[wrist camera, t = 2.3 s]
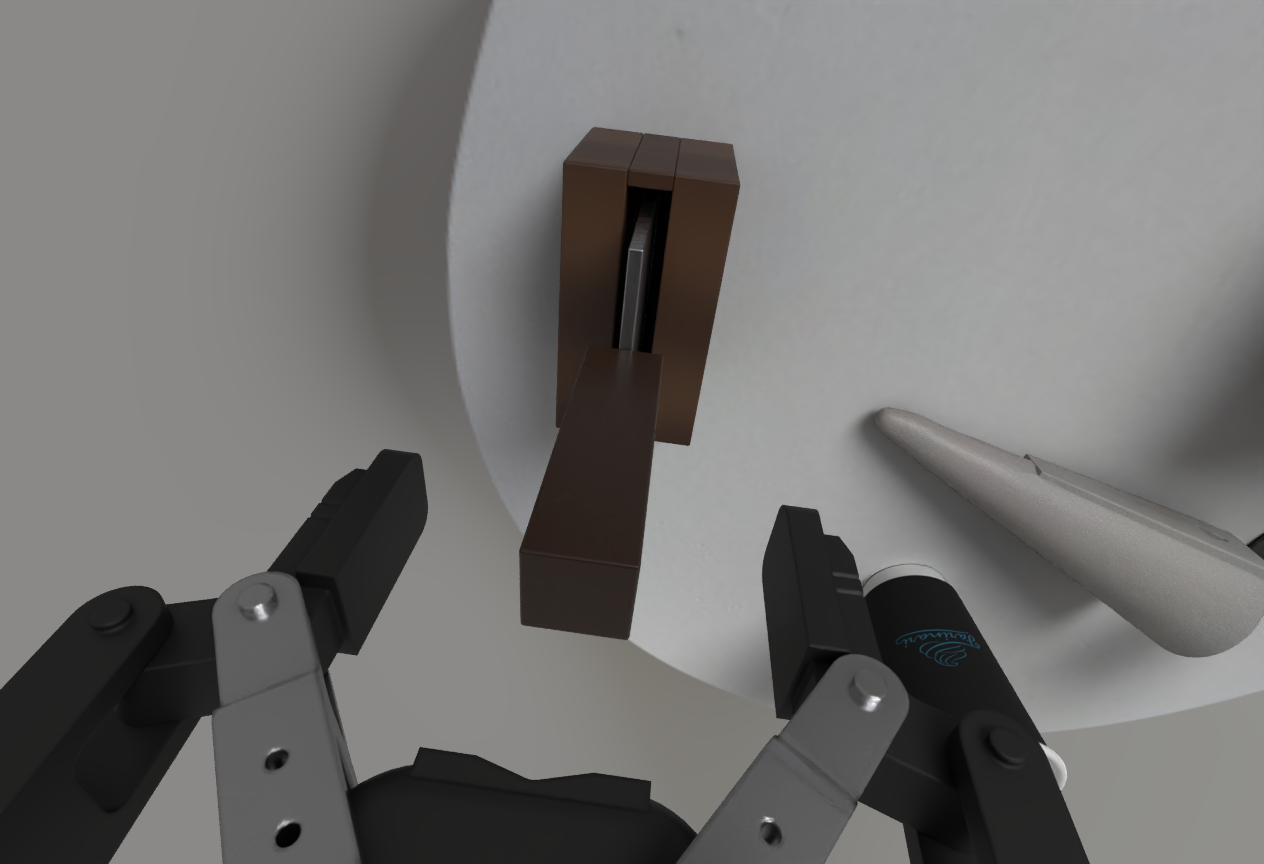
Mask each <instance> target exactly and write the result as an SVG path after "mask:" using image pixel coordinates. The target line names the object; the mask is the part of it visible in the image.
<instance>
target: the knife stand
mask: <svg viewBox="0 0 1264 864" xmlns="http://www.w3.org/2000/svg"><path fill="white" fill-rule="evenodd" d="M639 187H640V188H648V189H656V190H664V191H672V190H673V191H672V199H671V206H670V214H669V222H668V229H667V237H666V244H665V252H664V260H663V267H662V275H661V282H660V290H659V297H658V305H657V313H656V320H655V328H654V335H653V343H652V350H651V353H653V354H660V355H663V357H664V359H663V368H662V377H661V386H660V395H659V404H658V413H657V422H656V431H655V440H654V441H657V442H665V443H672V444H679V445H687V446H689V445H690V441H691V436H692V431H693V426H694V421H695V416H696V411H697V405H698V400H699V395H700V390H701V385H702V380H703V375H704V369H705V364H706V359H707V354H708V349H709V344H710V338H711V333H712V328H713V323H714V318H715V313H716V308H717V302H718V297H719V292H720V287H721V282H722V277H723V272H724V266H725V261H726V256H727V251H728V246H729V241H730V235H731V230H732V225H733V220H734V215H735V210H736V205H737V199H738V194H739V189H740V181H739V176H738V171H737V166H736V160H735V155H734V150H733V145H732V144H725V143H717V142H709V141H701V140H693V139H686V138H681V140H680V138H678V137H670V136H662V135H654V134H646V133H645V134H644V135H643V134H642V133H637V132H629V131H621V130H613V129H605V128H597V127H593V128H592V129H591V130H590V131H589V133H588V134H587V135H586V136H585V137H584V138H583V140H582V141H581V142H580V143H579V144H578V145H577V147H576V148H575V149H574V150H573V151H572V153H571V154H570V155H569V156H568V157H567V158H566V160H565V161H564V163H563V191H562V225H561V259H560V294H559V328H558V363H557V397H556V427H557V428H560V427H561V424H562V421H563V418H564V415H565V412H566V409H567V406H568V403H569V400H570V397H571V394H572V391H573V388H574V385H575V382H576V379H577V376H578V373H579V370H580V367H581V364H582V361H583V358H584V355H585V352H586V349H587V347H588V345H593V346H600V347H608V348H615V349H619V343H620V333H621V322H622V312H623V302H624V291H625V281H626V270H627V260H628V249H629V246H630V243H631V239H632V236H633V233H634V229H635V220H636V210H637V200H638V190H639Z"/></svg>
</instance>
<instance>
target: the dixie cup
mask: <svg viewBox="0 0 1264 864" xmlns="http://www.w3.org/2000/svg"><path fill="white" fill-rule="evenodd" d="M863 597H865V600H866V604H867V607H868V611H869V615H870V618H871V622H872V626H873V629H874V633H875V637H876V640H877V644H878V648H879V651H880V655H881V658H882V661H883V664H884V665H886V666H887V667H888V668H890V669H891V670H892V671H893V672H894V673H895V674H896V675H897V676H898V678H899V679H900V680H901V682H902V683H903V685H904V687H905V689H906V691H907V693H908V694H910V695H911V696H913V697H914V698H916V699H917V700H919V701H921V702H923V703H925V704H928V705H930V706H932V707H934V708H937V709H939V710H941V711H944V712H946V713H948V714H950V715H953V716H955V717H957V718H960V719H962V718H963V717H964V716H965V715H966V714H967V713H968V712H970V711H972V710H976V709H988V710H993V711H997V712H1000V713H1002V714H1005V715H1007V716H1008V717H1010V718H1012V719H1014V720H1015V721H1017V722H1018V723H1020V724H1021V725H1022V726H1023V727H1025V728H1026V729H1027V730H1028V731H1029V732H1030V733H1031V734H1032V735H1033V736H1034V737H1035V739H1036V740H1037V741H1038V742H1039V744H1040V745H1041V747H1042V748H1043V750H1044V752H1045V754H1046V756H1047V758H1048V760H1049V763H1050V765H1051V768H1052V770H1053V773H1054V775H1055V778H1056V780H1057V783H1058V786H1059V788H1060V791H1061V790H1062V789H1063V787H1064V785H1065V783H1066V780H1067V771H1066V767H1065V764H1064V762H1063V761H1062V759H1061V758H1060V757H1059V756H1058V755H1057V753H1055V752H1054V751H1053V750H1051V749H1050V748H1049V747H1047V745H1046V743H1045V742H1044V740H1043V738H1042V737H1041V735H1040V733H1039V731H1038V730H1037V728H1036V726H1035V725H1034V723H1033V721H1032V720H1031V718H1030V716H1029V714H1028V713H1027V711H1026V709H1025V708H1024V706H1023V704H1022V703H1021V701H1020V699H1019V697H1018V696H1017V694H1016V692H1015V691H1014V689H1013V687H1012V686H1011V684H1010V682H1009V680H1008V679H1007V677H1006V675H1005V674H1004V672H1003V670H1002V668H1001V667H1000V665H999V663H998V662H997V660H996V658H995V657H994V655H993V653H992V651H991V650H990V648H989V646H988V645H987V643H986V641H985V640H984V638H983V636H982V634H981V633H980V631H979V629H978V628H977V626H976V624H975V623H974V621H973V619H972V617H971V616H970V614H969V612H968V611H967V609H966V607H965V605H964V604H963V602H962V600H961V599H960V597H959V595H958V594H957V592H956V590H955V589H954V588H953V587H952V586H951V585H949V584H948V583H947V582H946V581H945V579H944V578H943V576H942V575H941V574H940V573H939V572H937V571H936V570H934V569H932V568H929V567H926V566H922V565H913V564H907V565H898V566H893V567H890V568H887V569H884V570H882V571H880V572H878V573H877V574H875V575H874V576H872V577H871V578H870V579H869V580H868V581H867V583H866V584H865V586H864V588H863Z"/></svg>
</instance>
